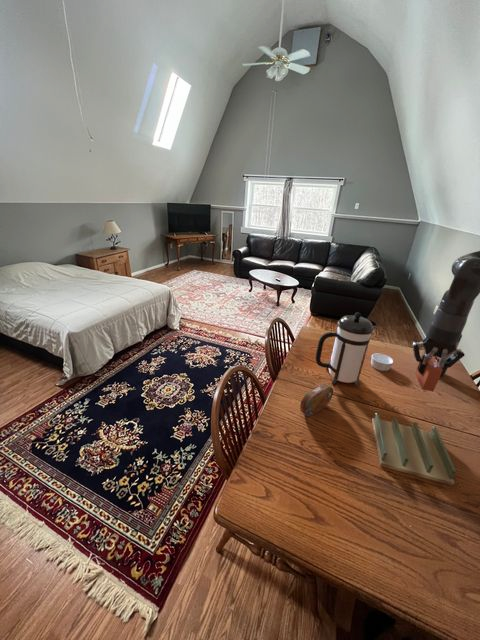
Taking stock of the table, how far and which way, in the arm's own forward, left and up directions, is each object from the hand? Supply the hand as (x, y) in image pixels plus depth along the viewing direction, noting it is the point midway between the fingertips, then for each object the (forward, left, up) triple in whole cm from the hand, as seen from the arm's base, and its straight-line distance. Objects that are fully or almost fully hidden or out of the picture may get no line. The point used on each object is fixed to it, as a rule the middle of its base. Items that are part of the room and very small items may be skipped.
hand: (426, 374), depth 85 cm
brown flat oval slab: (+31, +6, -19) cm, 37 cm away
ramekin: (+4, -32, -19) cm, 38 cm away
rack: (+3, +14, -19) cm, 24 cm away
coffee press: (+22, -16, -19) cm, 34 cm away
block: (0, 0, -3) cm, 3 cm away
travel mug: (-19, -36, -19) cm, 45 cm away
